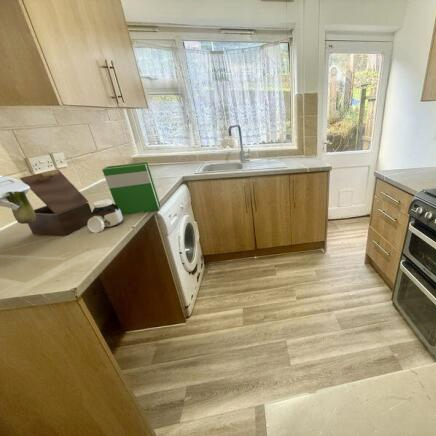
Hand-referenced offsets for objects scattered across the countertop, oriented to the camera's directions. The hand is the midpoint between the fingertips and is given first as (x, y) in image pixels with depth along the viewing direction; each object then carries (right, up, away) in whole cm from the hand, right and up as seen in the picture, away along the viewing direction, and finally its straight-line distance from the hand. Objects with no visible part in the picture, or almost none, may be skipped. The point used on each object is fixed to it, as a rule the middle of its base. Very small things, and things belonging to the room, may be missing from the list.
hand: (23, 206), depth 87 cm
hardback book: (+17, -1, +40) cm, 44 cm away
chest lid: (-4, +7, +17) cm, 19 cm away
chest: (-7, -9, +24) cm, 27 cm away
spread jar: (+13, -9, +23) cm, 28 cm away
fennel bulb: (0, -6, +2) cm, 7 cm away
